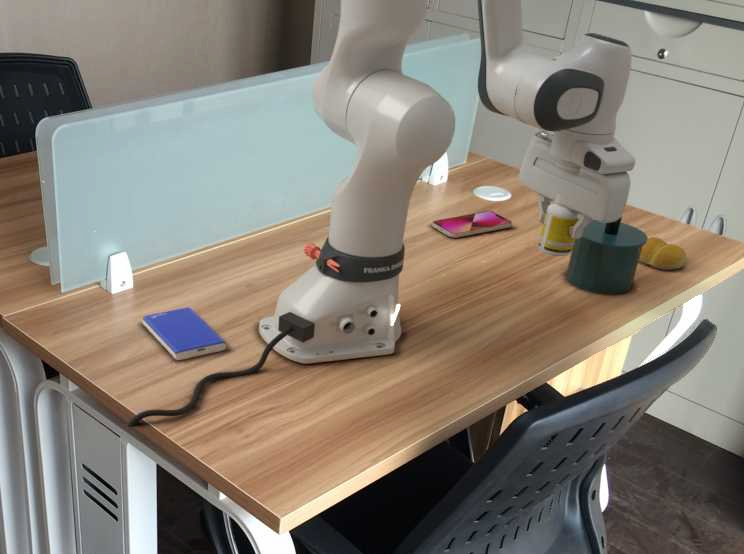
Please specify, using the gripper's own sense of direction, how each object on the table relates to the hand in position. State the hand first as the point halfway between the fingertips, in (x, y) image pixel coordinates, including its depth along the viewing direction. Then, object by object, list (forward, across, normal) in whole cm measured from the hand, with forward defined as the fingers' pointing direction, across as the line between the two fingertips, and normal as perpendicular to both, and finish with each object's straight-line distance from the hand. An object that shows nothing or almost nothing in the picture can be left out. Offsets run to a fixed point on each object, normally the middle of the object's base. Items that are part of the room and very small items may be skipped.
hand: (559, 230), depth 155 cm
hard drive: (+14, -11, -62) cm, 65 cm away
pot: (+12, -1, +14) cm, 18 cm away
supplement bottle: (+4, 0, 0) cm, 4 cm away
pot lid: (+3, -1, +14) cm, 14 cm away
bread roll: (+11, -3, +31) cm, 33 cm away
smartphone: (+12, -30, +9) cm, 33 cm away
